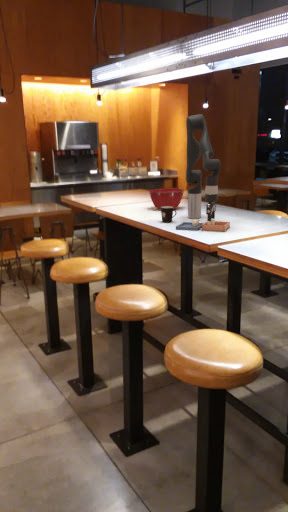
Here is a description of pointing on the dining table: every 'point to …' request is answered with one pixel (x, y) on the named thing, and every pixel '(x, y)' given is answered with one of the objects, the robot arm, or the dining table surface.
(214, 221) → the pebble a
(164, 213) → the coffee mug
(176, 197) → the mixing bowl
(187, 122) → the robot arm
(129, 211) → the dining table surface
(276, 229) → the dining table surface
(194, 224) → the pebble
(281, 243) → the dining table surface
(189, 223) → the parts tray
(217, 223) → the wooden tray
